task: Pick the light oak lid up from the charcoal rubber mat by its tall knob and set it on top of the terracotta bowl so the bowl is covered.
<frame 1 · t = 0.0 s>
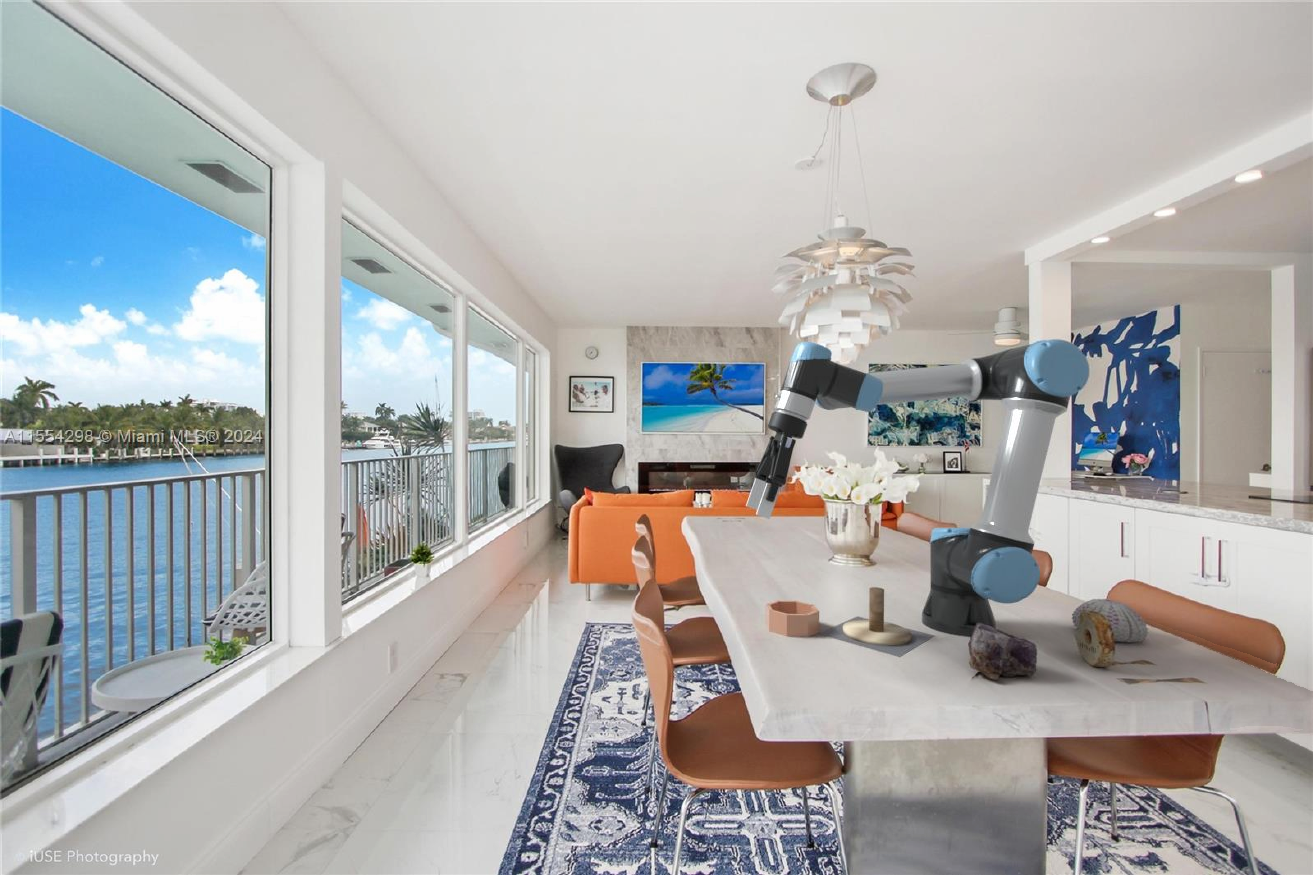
hand: (756, 512, 119), 28 cm above the table, tool tilted 20°, fingers open, 13 cm apart
rubber mat: (876, 636, 125), on the table
oak lid: (876, 634, 125), resting on rubber mat
rock: (995, 673, 107), on the table
sea urchin shell: (1109, 637, 127), on the table
terracotta bowl: (791, 629, 129), on the table
stone disc: (1095, 664, 111), on the table
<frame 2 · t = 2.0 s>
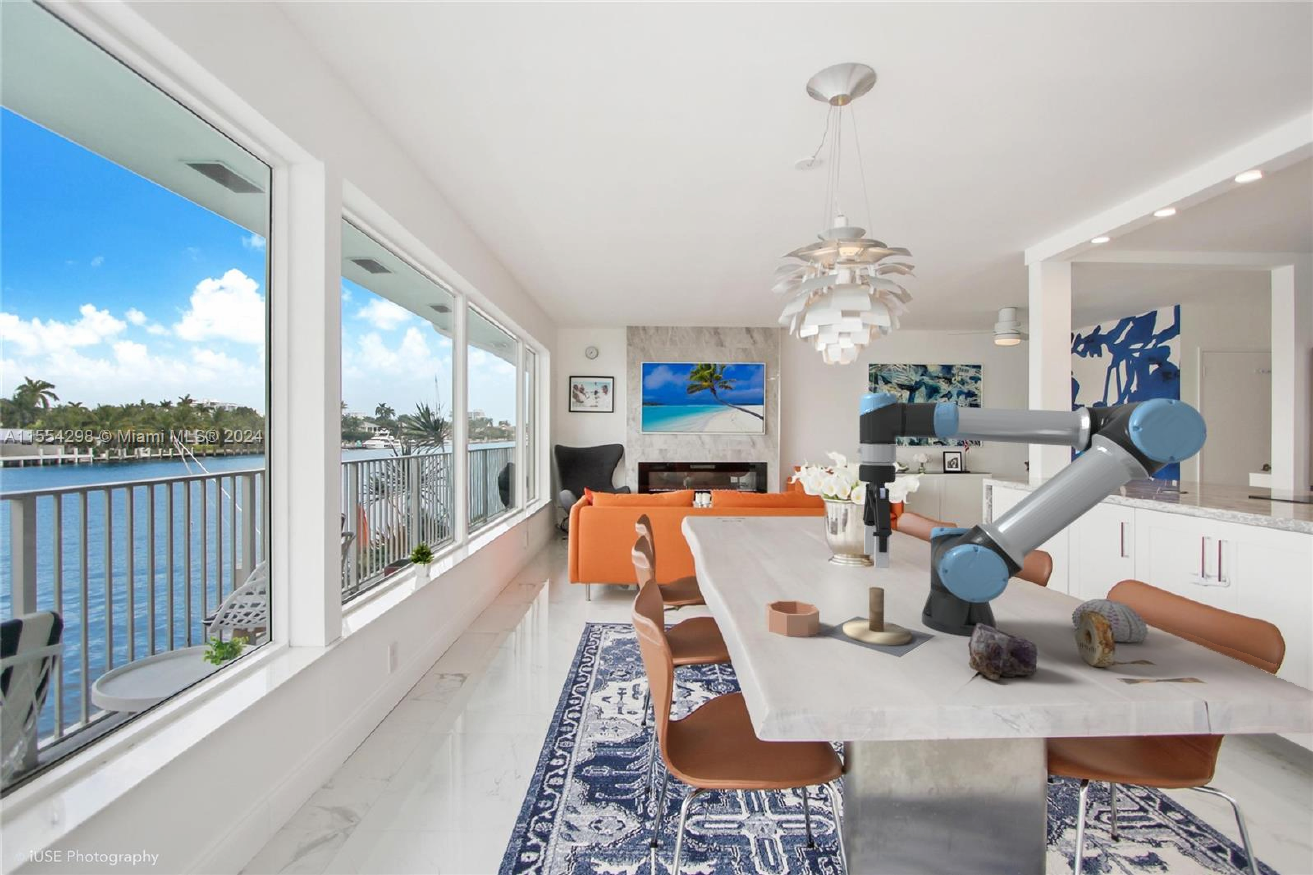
hand: (875, 560, 126), 17 cm above the table, tool pointing down, fingers open, 13 cm apart
nothing on the table moved.
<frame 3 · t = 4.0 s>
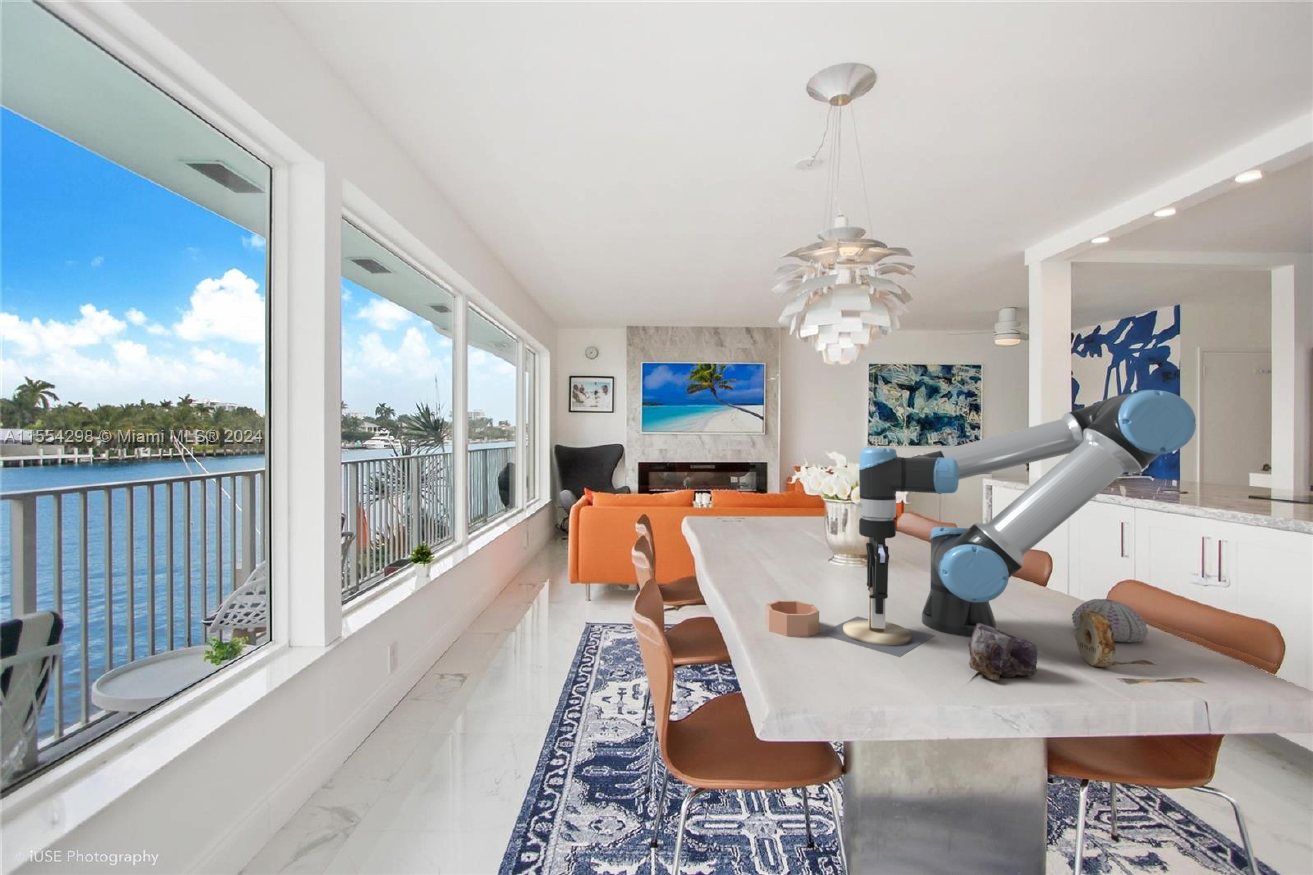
hand: (876, 624, 125), 3 cm above the table, tool pointing down, fingers closed on oak lid, 3 cm apart
oak lid: (876, 634, 125), resting on rubber mat, touching gripper
everything else where it was.
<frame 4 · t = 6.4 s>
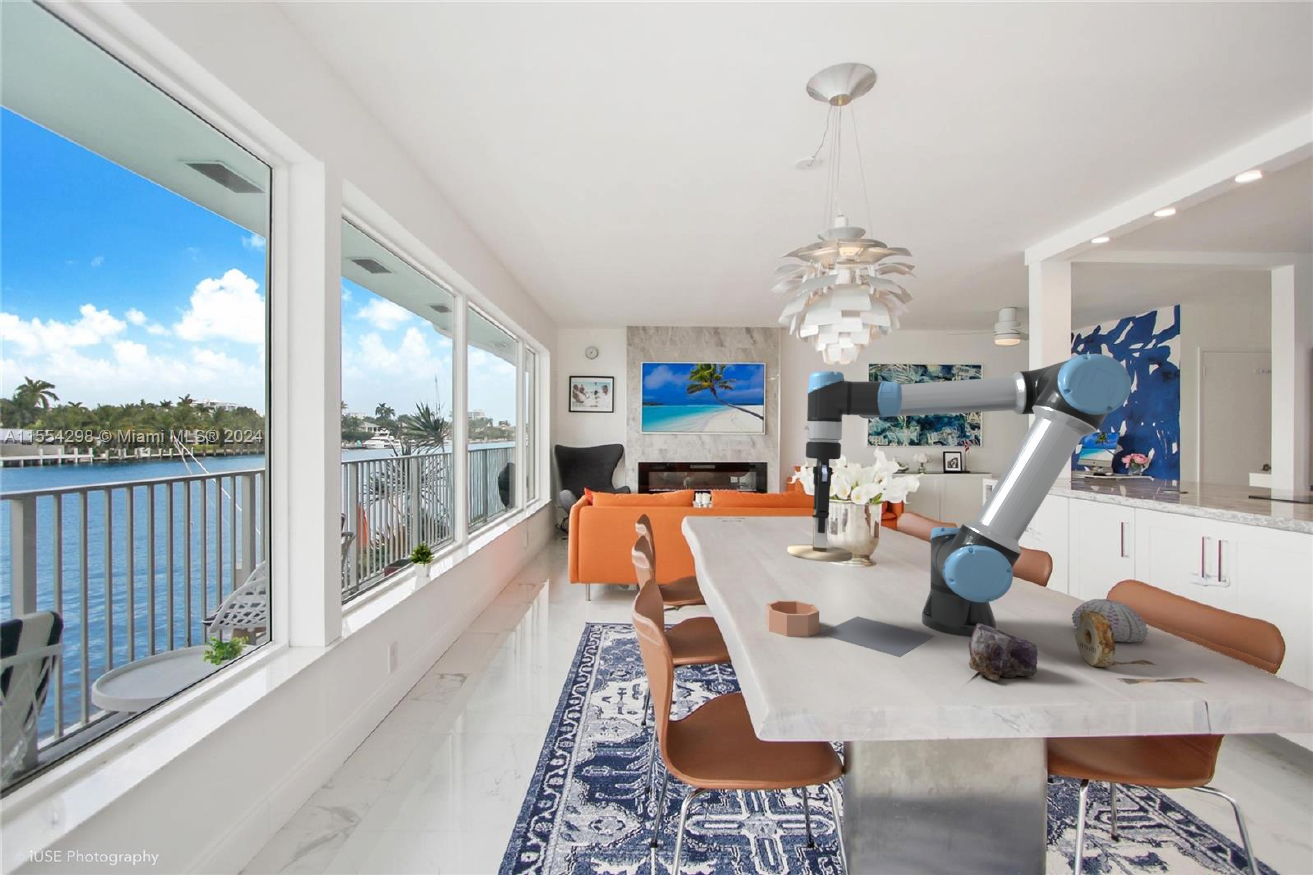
hand: (819, 545, 128), 19 cm above the table, tool pointing down, fingers closed on oak lid, 3 cm apart
oak lid: (819, 554, 128), point 17 cm above the table, touching gripper
everything else where it was.
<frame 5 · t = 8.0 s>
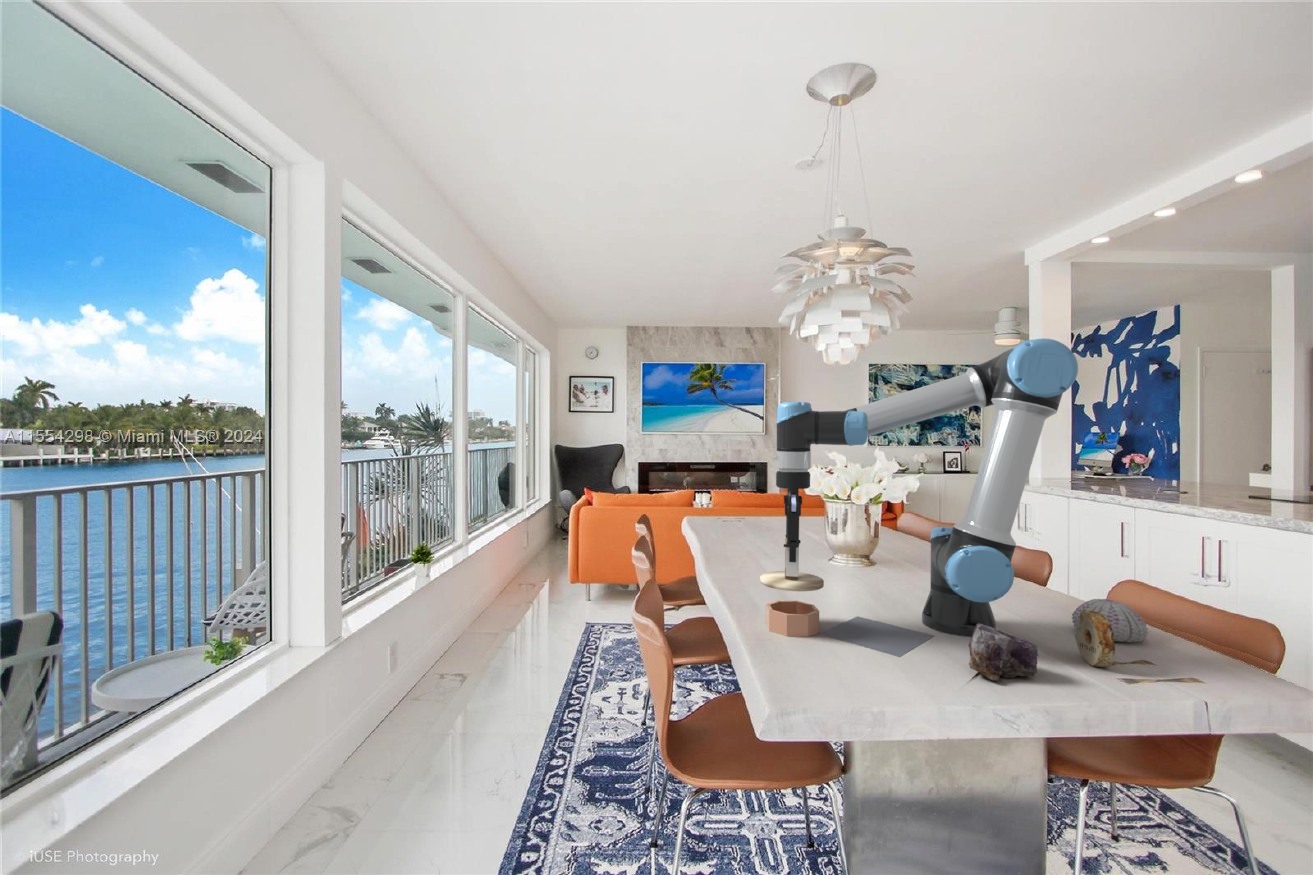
hand: (791, 573, 129), 13 cm above the table, tool pointing down, fingers closed on oak lid, 3 cm apart
oak lid: (791, 583, 129), point 11 cm above the table, touching gripper
everything else where it was.
when the fingers open (8 cm above the table, at t = 9.3 s): oak lid drops 1 cm, resting on terracotta bowl.
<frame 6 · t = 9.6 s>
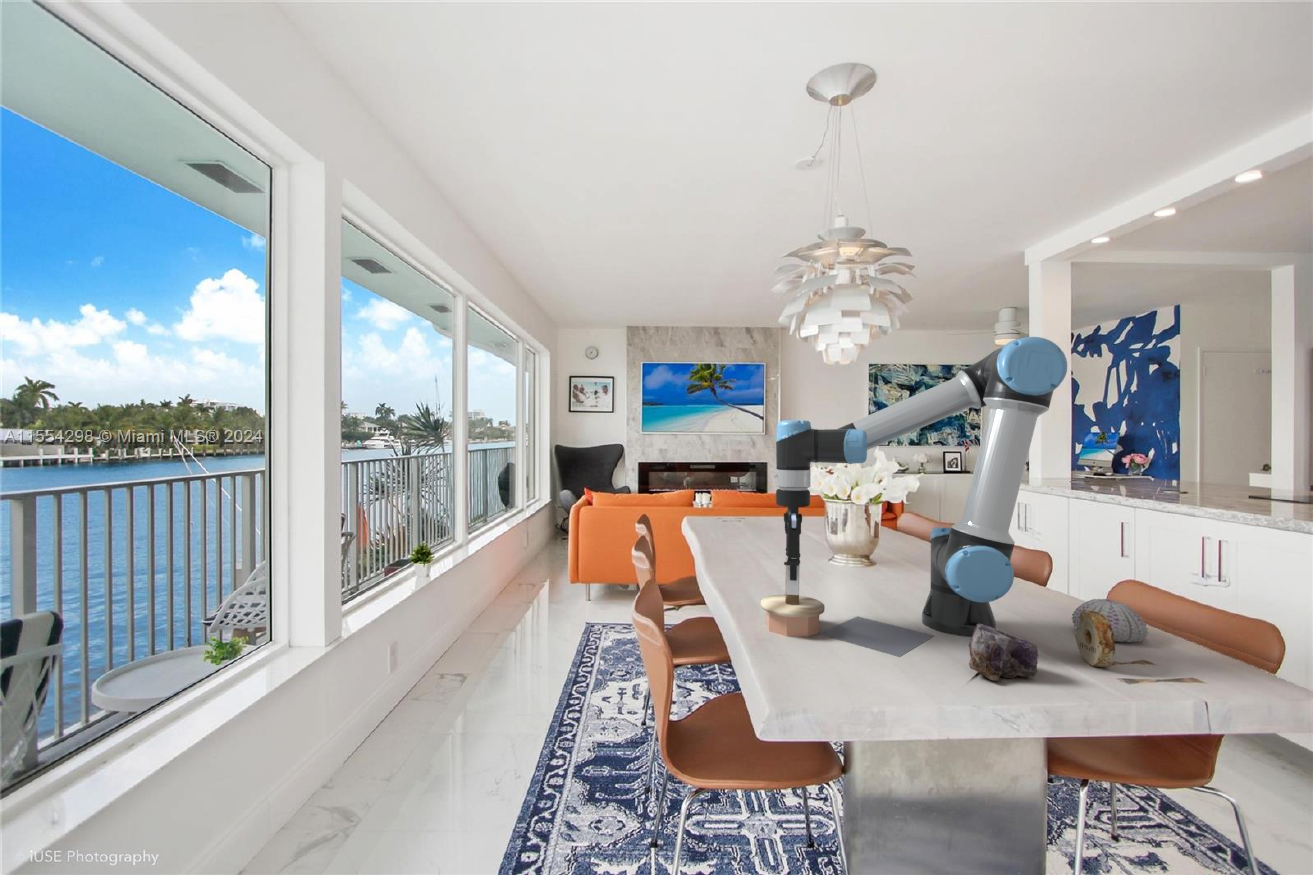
hand: (792, 589, 129), 9 cm above the table, tool pointing down, fingers open, 7 cm apart
oak lid: (792, 607, 129), point 5 cm above the table, touching terracotta bowl
everything else where it was.
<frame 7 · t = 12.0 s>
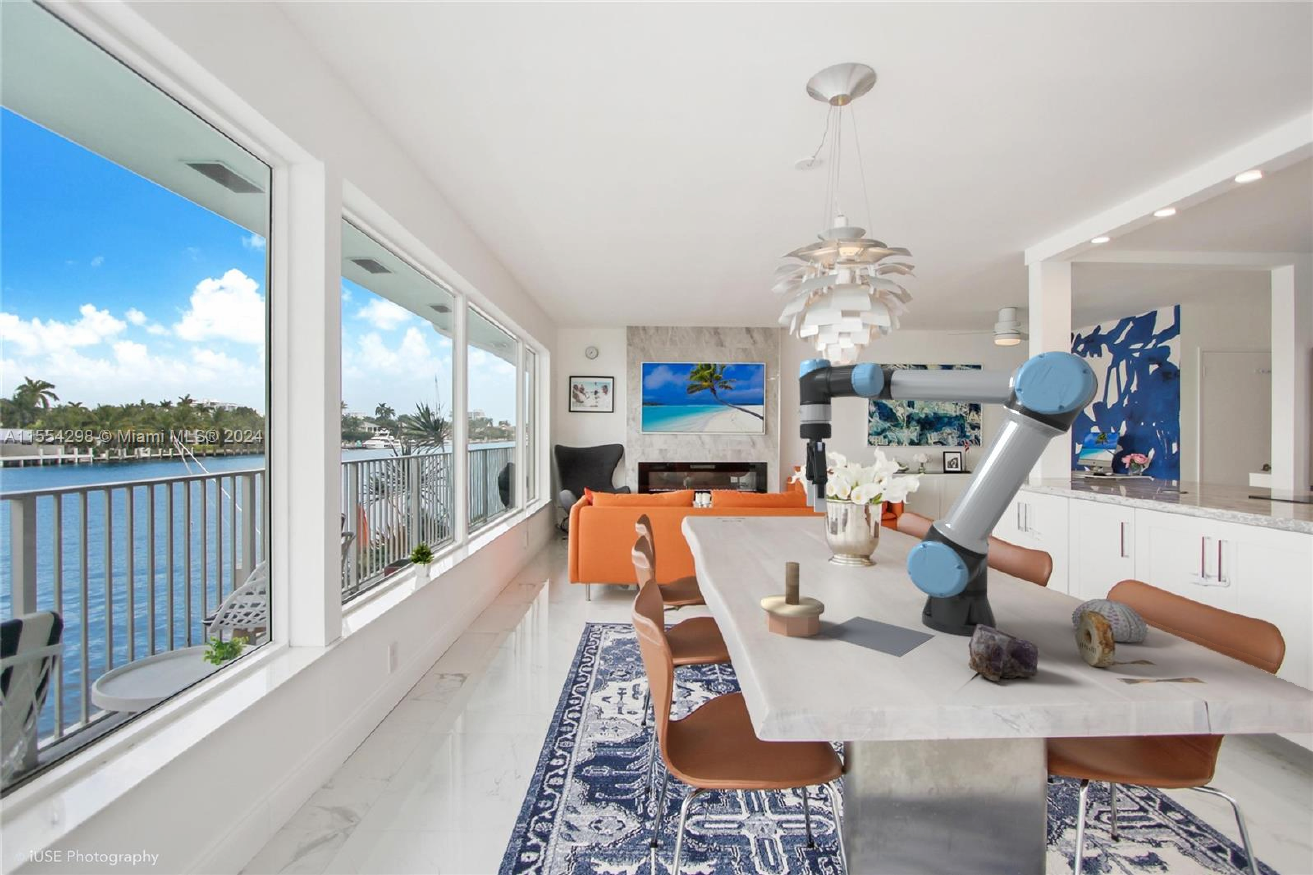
hand: (816, 509, 141), 26 cm above the table, tool pointing down, fingers open, 13 cm apart
nothing on the table moved.
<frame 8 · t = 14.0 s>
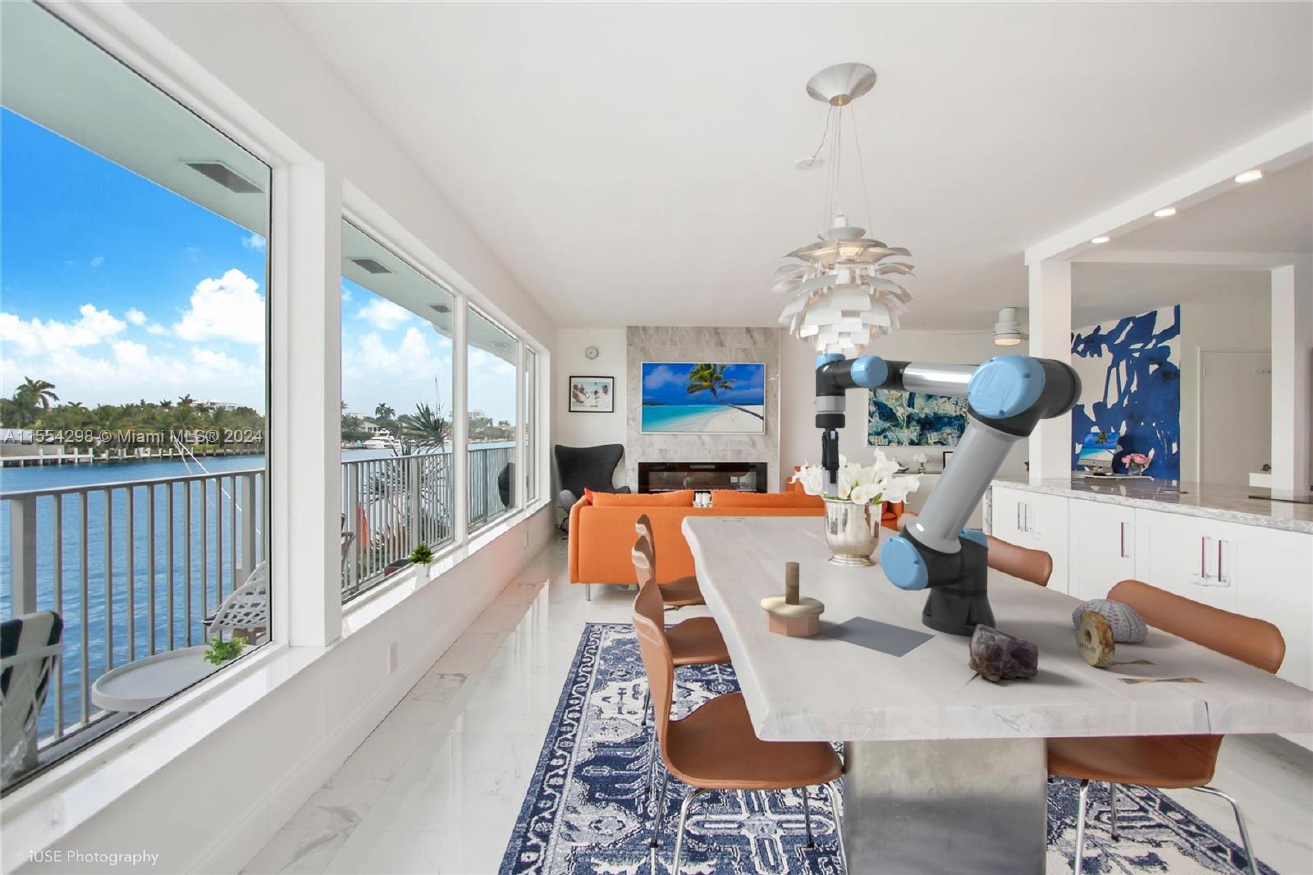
hand: (829, 494, 150), 29 cm above the table, tool pointing down, fingers open, 13 cm apart
nothing on the table moved.
at the end: oak lid 0.0 cm off-centre on the terracotta bowl, point 5.0 cm above the terracotta bowl's base; oak lid tilted 0°; the gripper is holding nothing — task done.
